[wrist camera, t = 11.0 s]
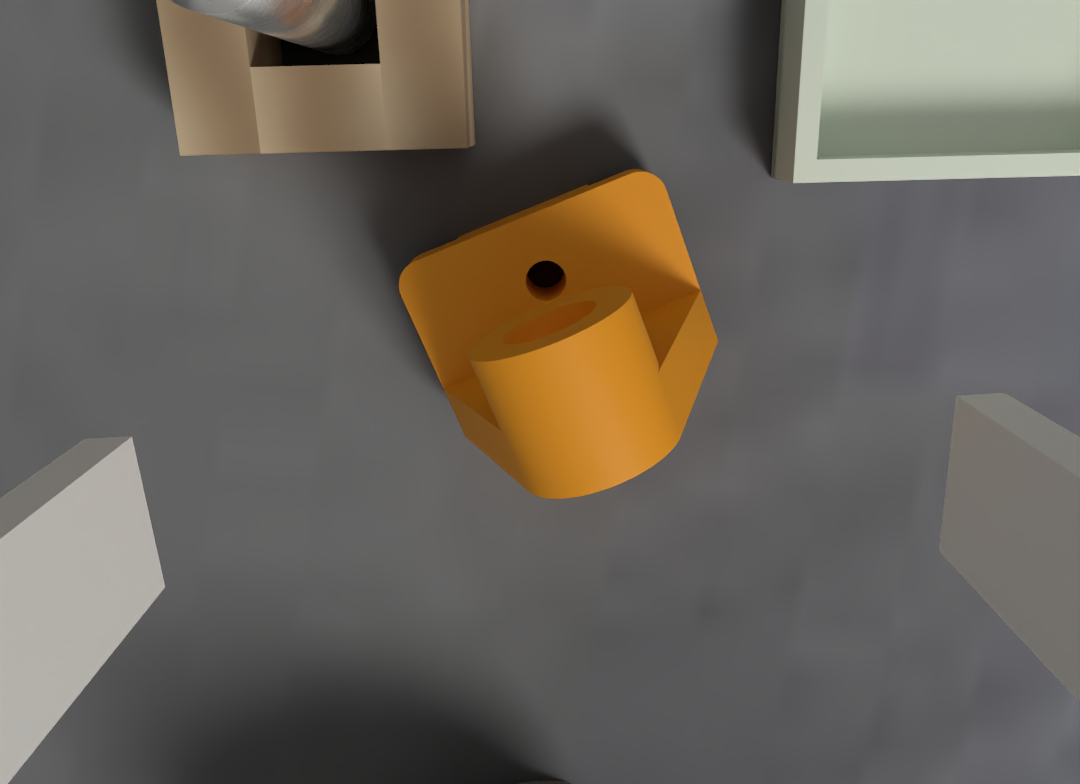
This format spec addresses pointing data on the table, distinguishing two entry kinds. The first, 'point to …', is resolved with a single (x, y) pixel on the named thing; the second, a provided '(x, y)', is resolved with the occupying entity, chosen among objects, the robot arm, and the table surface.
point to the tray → (927, 90)
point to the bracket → (568, 335)
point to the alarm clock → (544, 782)
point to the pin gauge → (298, 20)
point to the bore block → (321, 86)
